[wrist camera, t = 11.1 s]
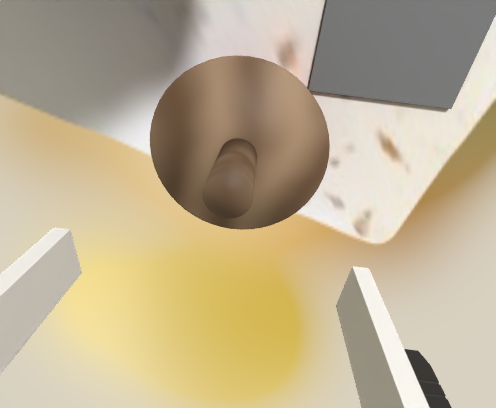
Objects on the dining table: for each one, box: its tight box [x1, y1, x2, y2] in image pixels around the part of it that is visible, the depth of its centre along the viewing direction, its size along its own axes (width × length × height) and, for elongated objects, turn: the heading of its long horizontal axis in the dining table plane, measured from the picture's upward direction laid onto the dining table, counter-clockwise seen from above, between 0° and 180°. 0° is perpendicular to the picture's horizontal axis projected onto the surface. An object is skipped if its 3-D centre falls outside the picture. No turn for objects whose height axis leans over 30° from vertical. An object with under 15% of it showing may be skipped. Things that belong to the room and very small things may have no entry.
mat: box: [308, 0, 496, 109], centre depth 30 cm, size 18×18×1 cm
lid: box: [150, 56, 329, 229], centre depth 24 cm, size 17×17×9 cm
